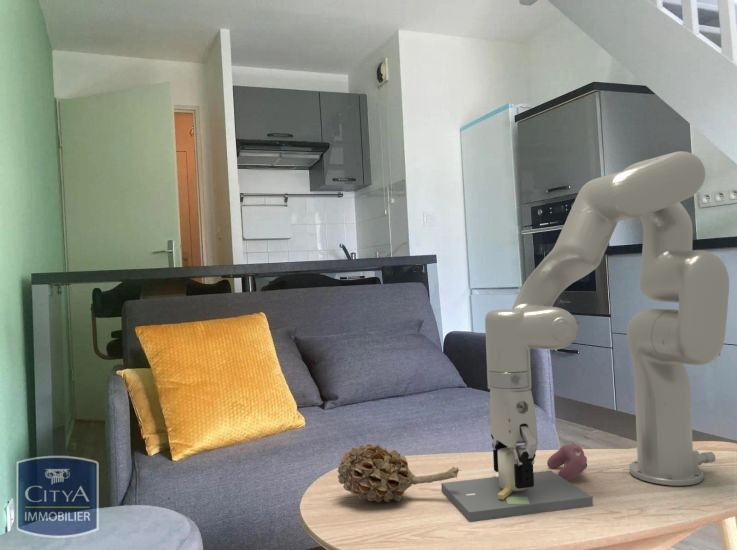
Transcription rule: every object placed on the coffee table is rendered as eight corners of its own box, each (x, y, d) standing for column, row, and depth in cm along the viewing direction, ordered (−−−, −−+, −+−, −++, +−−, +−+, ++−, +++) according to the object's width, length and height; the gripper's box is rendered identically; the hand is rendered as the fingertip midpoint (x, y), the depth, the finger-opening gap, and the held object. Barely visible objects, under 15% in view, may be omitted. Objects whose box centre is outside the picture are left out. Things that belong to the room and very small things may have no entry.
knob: (505, 482, 107) (503, 445, 107) (532, 487, 104) (530, 449, 104) (486, 497, 100) (484, 458, 100) (514, 503, 97) (513, 462, 97)
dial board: (551, 478, 113) (550, 470, 113) (593, 505, 99) (592, 496, 99) (441, 491, 108) (441, 482, 108) (469, 521, 94) (469, 511, 94)
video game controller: (579, 492, 109) (595, 458, 109) (556, 481, 110) (572, 447, 109) (565, 474, 119) (579, 443, 119) (544, 464, 119) (559, 433, 119)
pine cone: (336, 513, 100) (334, 455, 100) (340, 492, 110) (338, 439, 110) (466, 509, 100) (463, 450, 100) (458, 488, 109) (456, 435, 109)
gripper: (553, 386, 96) (558, 493, 96) (507, 370, 113) (511, 461, 113) (510, 390, 94) (515, 499, 94) (470, 373, 111) (474, 465, 111)
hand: (513, 478), depth 103 cm, fingers open, 8 cm apart
